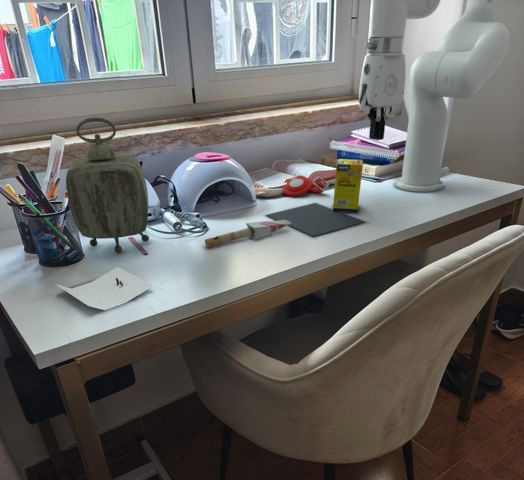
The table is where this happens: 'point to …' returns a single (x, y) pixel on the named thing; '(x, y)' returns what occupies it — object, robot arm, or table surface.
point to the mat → (316, 219)
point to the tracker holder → (303, 186)
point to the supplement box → (347, 185)
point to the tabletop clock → (107, 192)
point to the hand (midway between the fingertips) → (376, 138)
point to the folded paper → (109, 289)
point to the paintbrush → (248, 232)
